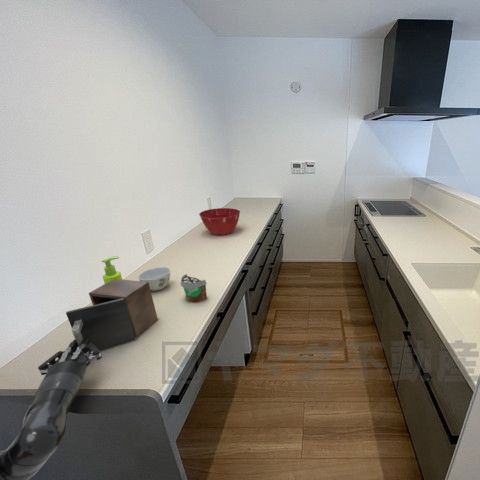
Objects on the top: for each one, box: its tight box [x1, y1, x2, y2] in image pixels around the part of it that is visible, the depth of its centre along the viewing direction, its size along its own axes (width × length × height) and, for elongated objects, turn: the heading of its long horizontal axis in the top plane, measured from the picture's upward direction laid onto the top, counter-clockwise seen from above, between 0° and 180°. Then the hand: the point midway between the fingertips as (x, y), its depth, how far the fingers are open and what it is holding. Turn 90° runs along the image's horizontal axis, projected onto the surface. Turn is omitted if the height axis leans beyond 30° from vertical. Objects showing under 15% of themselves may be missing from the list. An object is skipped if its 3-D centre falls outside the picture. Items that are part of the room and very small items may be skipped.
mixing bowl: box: [199, 207, 241, 236], centre depth 195 cm, size 28×28×15 cm
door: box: [65, 298, 137, 357], centre depth 83 cm, size 6×14×17 cm, turn 122°
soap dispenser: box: [101, 256, 123, 284], centre depth 109 cm, size 6×7×20 cm
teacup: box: [137, 266, 171, 292], centre depth 121 cm, size 15×12×8 cm
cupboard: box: [88, 278, 159, 339], centre depth 94 cm, size 10×14×17 cm
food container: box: [180, 273, 208, 303], centre depth 113 cm, size 12×6×10 cm, turn 65°
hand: (81, 340), depth 79 cm, fingers closed, pressing on door
